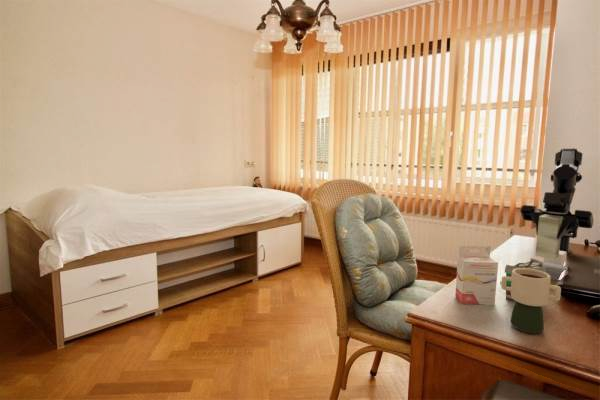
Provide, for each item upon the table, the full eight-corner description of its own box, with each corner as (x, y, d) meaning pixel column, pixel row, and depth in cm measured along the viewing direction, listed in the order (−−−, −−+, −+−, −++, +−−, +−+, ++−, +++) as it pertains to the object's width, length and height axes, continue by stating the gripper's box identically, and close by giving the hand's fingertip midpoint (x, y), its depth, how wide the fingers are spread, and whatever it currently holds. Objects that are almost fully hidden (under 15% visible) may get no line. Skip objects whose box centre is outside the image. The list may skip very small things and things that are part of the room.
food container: (526, 310, 86) (529, 271, 84) (502, 300, 91) (505, 264, 90) (553, 299, 91) (556, 263, 90) (529, 291, 97) (531, 257, 95)
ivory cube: (548, 262, 122) (549, 248, 121) (565, 265, 118) (566, 251, 118) (543, 265, 119) (544, 251, 118) (561, 268, 115) (562, 254, 114)
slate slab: (535, 268, 117) (536, 260, 116) (568, 275, 110) (568, 266, 109) (525, 274, 111) (526, 265, 111) (559, 282, 104) (560, 273, 104)
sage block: (540, 252, 113) (544, 214, 111) (558, 256, 109) (563, 216, 107) (535, 255, 110) (539, 216, 108) (553, 259, 106) (558, 218, 104)
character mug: (557, 329, 76) (562, 273, 74) (556, 343, 71) (561, 283, 69) (501, 315, 83) (504, 264, 81) (496, 327, 77) (499, 272, 76)
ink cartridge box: (461, 304, 89) (464, 250, 87) (454, 296, 94) (457, 244, 92) (495, 305, 88) (499, 250, 86) (487, 297, 93) (490, 245, 91)
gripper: (524, 181, 116) (509, 217, 111) (595, 184, 102) (581, 226, 96) (530, 201, 122) (516, 236, 117) (598, 207, 108) (586, 248, 102)
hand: (547, 236), depth 108 cm, fingers closed on sage block, 5 cm apart
